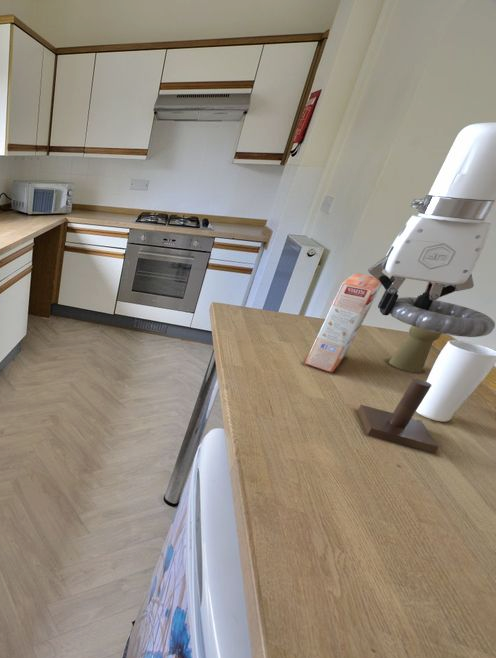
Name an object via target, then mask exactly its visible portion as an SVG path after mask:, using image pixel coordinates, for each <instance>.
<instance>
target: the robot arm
mask: <svg viewBox="0 0 496 658" xmlns="http://www.w3.org/2000/svg"><path fill="white" fill-rule="evenodd" d="M495 203H496V121H495V122H478V123H473V124H469V125H467V126H465V127H464V128H462V129H461V130H460V131H459V132H458V134H457V136H456V137H455V140H454V141H453V143H452V145H451V147H450V149H449V152H448V154H447V156H446V157H445V159H444V162H443V164H442V166H441V168H440V170H439V171H438V174H437V176H436V177H435V180H434V182H433V184H432V186H431V188H430V190H429V192H428V194H427V195H425V197H423V198H414V199H413V200H412V202H411V204H410V208H412V209H413V208H415V209H417V210H418V211H417V212H418V214H412V215H411V217H410V218H409V219H408V220H407V222H406V223H405V224H404V226H403V227H402V229H401V230H400V231H399V233H398V234H397V236H396V238H395V239H394V240H393V243H391V246H390V248H389V249H388V251H387V253H386V255H385V256H384V257H383V258H381V259H379V261H377V262H376V263H375V264H373V265H372V266H371V267H368V269H367V272H368V273H369V274H370V276H373V277H375V278H376V279H378V280H379V281H380V282H381V284H382V285H381V286H382V287H383V288H384V293H383V295H382V296H381V298H380V300H379V303H378V304H377V308H378V309H379V312H380V314H382V316H389V315H391V314H390V312H391V310H392V308H393V306H394V304H395V302H396V300H397V298H399V294H398V292H399V289H400V288H401V286H402V285H403V283H404V282H405V281H406V279H408V280H414V281H421V282H427V284H426V287H425V290H424V292H423V293H422V294H419V295H418V296H417V297H416V298H417V299H416V301H415V303H414V305H413V306H415V307H418V308H421V309H424V310H427V311H428V309H429V308H430V306H431V304H432V302H433V300H437V301H438V300H439V299H440V298H442V297H445V296H447V295H450V294H452V293H454V292H461V291H466V290H470V289H473V287H474V286H475V284H474V279H473V274H472V273H473V271H474V270H475V267H476V266H477V263H478V261H479V259H480V256H481V254H482V251H483V249H484V247H485V244H486V241H487V239H488V237H489V233H490V230H491V226H492V223H491V222H486V219H487V218H488V215H489V214H490V212H491V210H492V208H493V206H494V205H495ZM383 270H385V271H386V272H387V274H389V275H390V277H389V276H388V275H387V274H385V273H384V272H383Z"/></svg>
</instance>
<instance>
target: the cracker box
mask: <svg viewBox="0 0 496 658" xmlns="http://www.w3.org/2000/svg"><path fill="white" fill-rule="evenodd" d="M382 286H383V285H382V284H381V282H380V281H379V280H378V279H376V278H375V277H374V276H372V275H369V274H368V275H367V274H361V273H357V272H356V273H355V272H354V273H353V274H352V275H350V276H349V277H348V278H346V279H344V281H343V282H342V283H341V285H340V287H339V289H338V291H337V293H336V295H335V298H334V300H333V302H332V304H331V306H330V308H329V311H328V313H327V315H326V317H325V319H324V321H323V324H322V326H321V328H320V330H319V332H318V334H317V336H316V339H315V341H314V343H313V345H312V347H311V349H310V351H309V353H308V355H307V357H306V359H305V363H304V364H305V365H307V366H311V367H313V368H316V369H319V370H322V371H325V372H328V373H330V374H332V373H333V372H334V371H335V369H336V368H337V367H338V366H339V364H340V363H341V362H342V361H343V359H344V358H345V357H346V355H347V353H348V351H349V349H350V348H351V346H352V344H353V341H354V340H355V338H356V336H357V334H358V332H359V330H360V328H361V327H362V325H363V323H364V320H365V319H366V317H367V315H368V313H369V312H370V309H371V307H372V305H373V303H374V301H375V300H376V297H377V295H378V293H379V291H380V289H381V287H382Z"/></svg>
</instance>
